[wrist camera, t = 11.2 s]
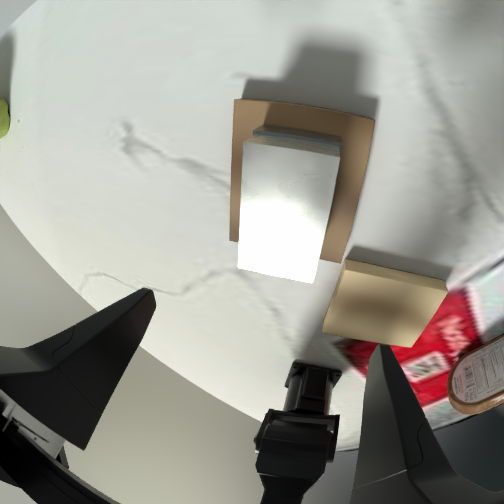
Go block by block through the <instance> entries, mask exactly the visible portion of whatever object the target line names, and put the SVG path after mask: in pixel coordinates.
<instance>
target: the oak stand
mask: <svg viewBox="0 0 504 504" xmlns="http://www.w3.org/2000/svg"><path fill="white" fill-rule="evenodd" d="M447 293H448V289H447V287H446V284H445V282H444V280H439V279H435V278H430V277H426V276H422V275H417V274H413V273H408V272H404V271H399V270H395V269H390V268H385V267H381V266H376V265H372V264H367V263H362V262H358V261H353V260H348V259H345V261H344V264H343V267H342V270H341V273H340V276H339V279H338V282H337V285H336V288H335V291H334V294H333V297H332V300H331V303H330V305H329V308H328V311H327V314H326V316H325V319H324V322H323V330H322V333H326V334H331V335H336V336H342V337H347V338H353V339H358V340H364V341H371V342H377V343H383V344H390V345H397V346H404V347H412V345H413V344H414V343H415V341H416V340H417V339H418V337H419V336H420V334H421V333H422V332H423V330H424V329H425V327H426V326H427V324H428V323H429V321H430V320H431V318H432V317H433V315H434V314H435V312H436V311H437V309H438V307H439V306H440V304H441V303H442V301H443V299H444V298H445V296H446V294H447Z"/></svg>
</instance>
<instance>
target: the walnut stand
mask: <svg viewBox="0 0 504 504" xmlns="http://www.w3.org/2000/svg"><path fill="white" fill-rule="evenodd" d="M263 124H266V125H274V126H282V127H290V128H297V129H303V130H310V131H316V132H321V133H327V134H332V135H337V136H341V138H342V142H343V146H342V152H341V158H340V164H339V169H338V175H337V180H336V185H335V190H334V195H333V200H332V205H331V210H330V215H329V219H328V224H327V228H326V233H325V237H324V241H323V246H322V250H321V254H320V258H319V259H322V260H327V261H331V262H336V263H341V261H342V258H343V255H344V251H345V248H346V244H347V241H348V237H349V234H350V230H351V227H352V223H353V219H354V216H355V212H356V208H357V204H358V200H359V196H360V192H361V188H362V183H363V179H364V175H365V170H366V165H367V161H368V156H369V151H370V146H371V141H372V135H373V130H374V124H375V120H373V119H372V118H368V117H364V116H360V115H355V114H351V113H346V112H341V111H336V110H331V109H326V108H320V107H314V106H308V105H301V104H294V103H286V102H277V101H267V100H255V99H235V100H234V114H233V137H232V163H231V195H230V241H234V242H239V232H240V206H241V182H242V160H243V142H245V141H246V140H248V139H249V138H251V137H252V136H253V130H254V129H256V128H258V127H259V126H261V125H263Z"/></svg>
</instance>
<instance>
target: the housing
mask: <svg viewBox="0 0 504 504" xmlns="http://www.w3.org/2000/svg"><path fill="white" fill-rule="evenodd" d="M342 146H343V142H342V138H341V136H337V135H332V134H327V133H321V132H316V131H310V130H303V129H297V128H290V127H282V126H274V125H266V124H263V125H261V126H259V127H258V128H256V129H254V130H253V136H252V137H251V138H249V139H248V140H246V141H245V142H243V160H242V182H241V206H240V232H239V260H238V268H243V269H248V270H252V271H257V272H261V273H266V274H271V275H275V276H280V277H285V278H290V279H294V280H299V281H304V282H309V283H313V281H314V277H315V273H316V269H317V265H318V262H319V258H320V254H321V250H322V246H323V241H324V237H325V233H326V228H327V224H328V219H329V215H330V210H331V205H332V200H333V195H334V190H335V185H336V180H337V175H338V169H339V164H340V158H341V152H342Z"/></svg>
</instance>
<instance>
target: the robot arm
mask: <svg viewBox="0 0 504 504" xmlns="http://www.w3.org/2000/svg"><path fill="white" fill-rule="evenodd" d="M155 309H156V301H155V297H154V292H153V291H152V290H151V289H148V288H141V289H139V290H138V291H136V292H134V293H132V294H130V295H128V296H126V297H125V298H123V299H121V300H119V301H117V302H115V303H113V304H112V305H110V306H108V307H106V308H104V309H102V310H101V311H99V312H97V313H95V314H93V315H91V316H90V317H88V318H86V319H84V320H83V321H81V322H79V323H77V324H76V325H73V326H71V327H70V328H68V329H66V330H64V331H62V332H60V333H58V334H56V335H54V336H52V337H50V338H48V339H45V340H43V341H41V342H39V343H36V344H34V345H32V346H29V347H26V348H10V347H3V346H0V480H1V481H3V482H6V483H8V484H11V485H13V486H16V487H19V488H21V489H23V491H24V492H26V494H28V495H29V496H30V497H31V498H32V499H33V500H34V501H35V502H36V503H37V504H120V503H118V502H116V501H115V500H113V499H111V498H110V497H108V496H106V495H104V494H103V493H101V492H100V491H98V490H97V489H95V488H93V487H92V486H91V485H89V484H88V483H86V482H85V481H83V480H82V479H80V478H79V477H78V476H76V475H75V474H73V473H72V472H71V471H69V470H68V469H69V466H68V462H67V458H66V454H65V450H64V446H63V444H64V442H65V441H66V440H67V441H68V442H70V443H71V444H73V445H75V446H77V447H78V448H80V449H81V450H83V451H84V450H85V448H86V446H87V444H88V442H89V440H90V438H91V436H92V434H93V432H94V430H95V428H96V425H97V424H98V422H99V419H100V418H101V416H102V413H103V411H104V409H105V407H106V405H107V404H108V402H109V400H110V398H111V396H112V394H113V392H114V390H115V388H116V386H117V384H118V382H119V381H120V379H121V377H122V375H123V373H124V371H125V369H126V367H127V366H128V364H129V362H130V360H131V358H132V356H133V355H134V353H135V351H136V350H137V348H138V346H139V344H140V342H141V341H142V339H143V336H144V334H145V332H146V330H147V327H148V325H149V323H150V320H151V318H152V316H153V314H154V311H155ZM341 375H342V372H341V371H338V370H332V369H326V368H320V367H315V366H310V365H305V364H300V363H293V364H292V366H291V369H290V371H289V374H288V377H287V380H286V383H285V387H286V388H288V392H287V396H286V400H285V404H284V408H283V411H279V410H274V409H269V410H268V413H266V415H265V418H264V420H263V422H262V425H261V427H260V429H259V431H258V433H257V434H256V436H255V438H254V443H255V444H256V454H258V458H257V461H256V469H257V472H258V474H259V475H260V478H261V481H262V484H263V486H264V489H265V490H264V494H263V497H262V500H261V503H260V504H302V502H303V498H304V495H305V494H306V493H307V492H308V491H309V490H310V489H311V488H312V487H313V486H314V485H315V484H316V483H317V482H318V481H319V480H320V479H321V478H322V476H323V474H324V471H325V466H326V462H327V463H332V462H333V459H334V454H335V449H336V443H337V436H338V428H339V419H340V415H329V409H330V402H331V395H332V389H333V388H334V386H335V385H336V383H337V382H338V380H339V379H340V377H341ZM331 431H332V432H331ZM350 504H504V490H503V491H501V492H498V493H493V492H490V491H487V490H485V489H484V488H482V487H480V486H478V485H476V484H474V483H472V482H471V481H469V480H467V479H465V478H464V477H462V476H460V475H459V474H458V473H457V472H456V471H455V470H454V469H453V467H452V466H451V464H450V462H449V460H448V459H447V457H446V455H445V453H444V451H443V450H442V448H441V446H440V444H439V442H438V441H437V439H436V437H435V436H434V433H433V431H432V429H431V427H430V425H429V423H428V420H427V418H425V414H424V412H423V410H422V408H421V406H420V403H419V401H418V399H417V397H416V395H415V393H414V391H413V389H412V387H411V385H410V383H409V381H408V379H407V377H406V375H405V374H404V372H403V370H402V368H401V366H400V364H399V362H398V360H397V358H396V357H395V355H394V353H393V351H392V349H391V347H390V346H389V345H387V344H378V345H377V347H376V349H375V350H374V352H373V353H372V355H371V357H370V360H369V366H368V373H367V379H366V386H365V392H364V400H363V414H362V425H361V435H360V444H359V453H358V460H357V467H356V473H355V479H354V484H353V490H352V495H351V499H350Z"/></svg>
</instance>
